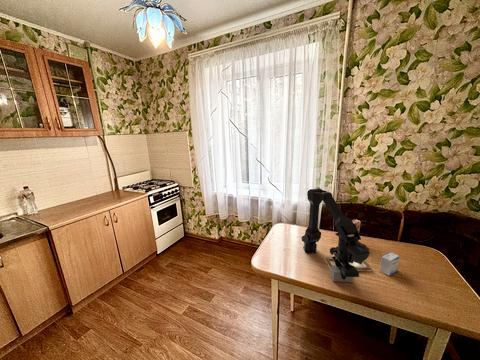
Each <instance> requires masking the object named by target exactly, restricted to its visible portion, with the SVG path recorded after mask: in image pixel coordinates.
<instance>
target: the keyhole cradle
mask: <svg viewBox="0 0 480 360" xmlns="http://www.w3.org/2000/svg"><path fill="white" fill-rule="evenodd" d="M324 260H325V261H326V264H327V265H328V267H329V269H330V270H331V267H336V265H335V262H334V260H333V256H325V259H324ZM349 264H350V265H352V266H355V267H356V269H357V270H358V271H359V272H372V270H373V267H372V266H371V265H370V264H369V263H368V262H367V260H364V261H363V262H362V264H359V263H356V262H354V261H353V263H350V262H349Z"/></svg>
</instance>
